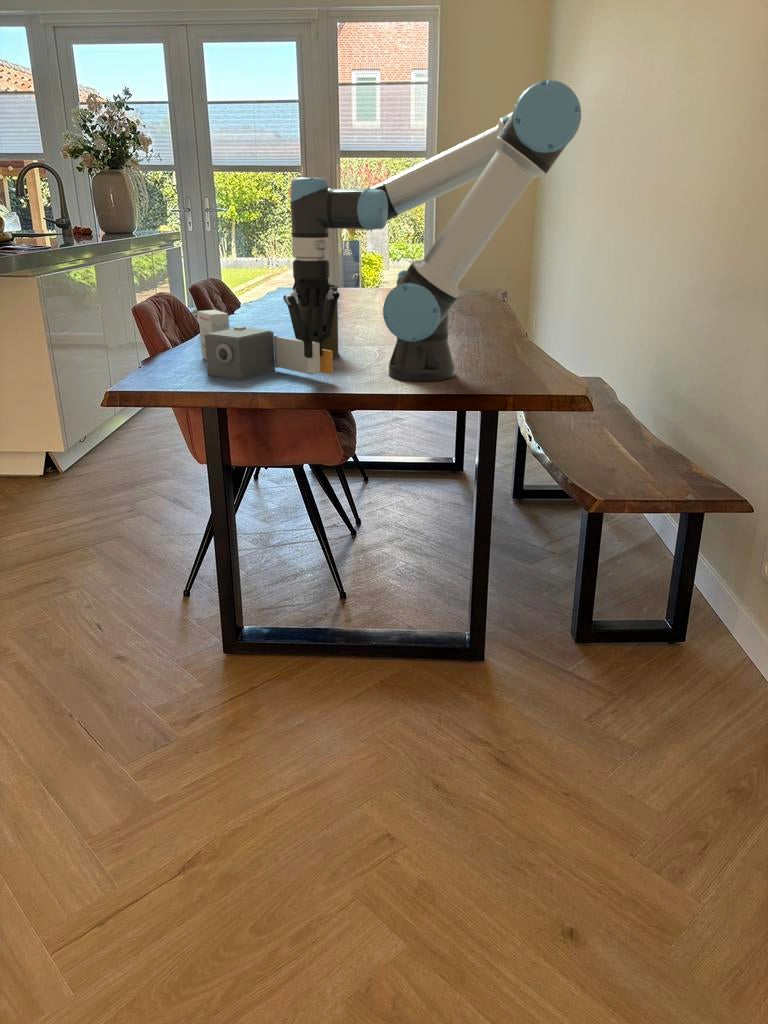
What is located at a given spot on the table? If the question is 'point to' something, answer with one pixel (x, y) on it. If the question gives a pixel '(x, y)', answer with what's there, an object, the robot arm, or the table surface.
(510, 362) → the table surface
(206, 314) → the ink box
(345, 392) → the table surface
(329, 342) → the canister
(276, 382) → the table surface
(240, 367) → the camera body
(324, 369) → the side door
